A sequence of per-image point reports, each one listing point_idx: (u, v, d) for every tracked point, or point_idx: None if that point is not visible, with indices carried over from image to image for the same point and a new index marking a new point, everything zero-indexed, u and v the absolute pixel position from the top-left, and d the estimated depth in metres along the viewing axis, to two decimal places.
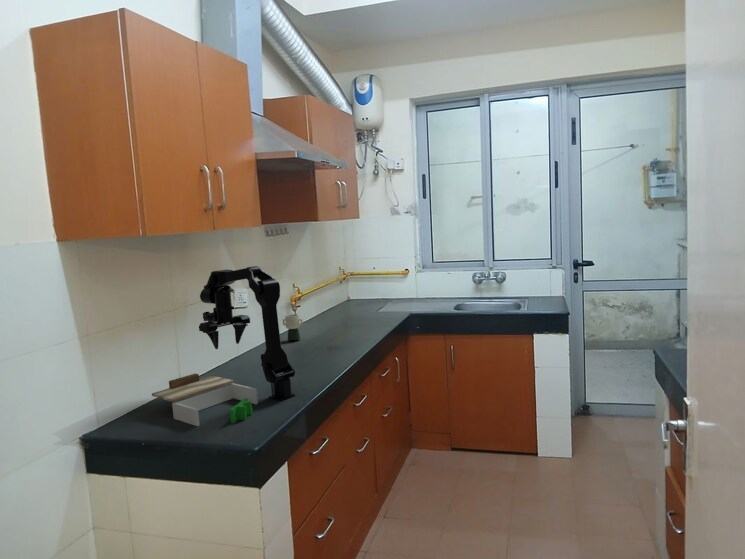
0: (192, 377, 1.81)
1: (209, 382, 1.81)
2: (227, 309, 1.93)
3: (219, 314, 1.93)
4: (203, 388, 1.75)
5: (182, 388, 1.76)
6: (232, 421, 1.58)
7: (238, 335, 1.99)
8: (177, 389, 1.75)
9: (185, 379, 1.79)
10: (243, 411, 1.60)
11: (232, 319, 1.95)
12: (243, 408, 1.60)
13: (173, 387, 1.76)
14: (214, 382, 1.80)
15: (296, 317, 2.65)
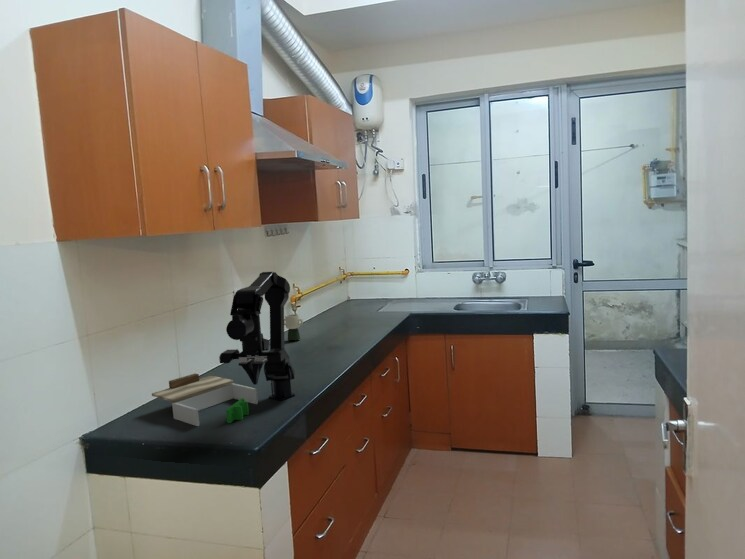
0: (192, 377, 1.81)
1: (209, 382, 1.81)
2: (246, 339, 1.53)
3: None
4: (203, 388, 1.75)
5: (182, 388, 1.76)
6: (228, 421, 1.58)
7: None
8: (177, 389, 1.75)
9: (185, 379, 1.79)
10: (239, 411, 1.60)
11: (253, 353, 1.53)
12: (239, 408, 1.60)
13: (173, 387, 1.76)
14: (214, 382, 1.80)
15: (296, 317, 2.65)
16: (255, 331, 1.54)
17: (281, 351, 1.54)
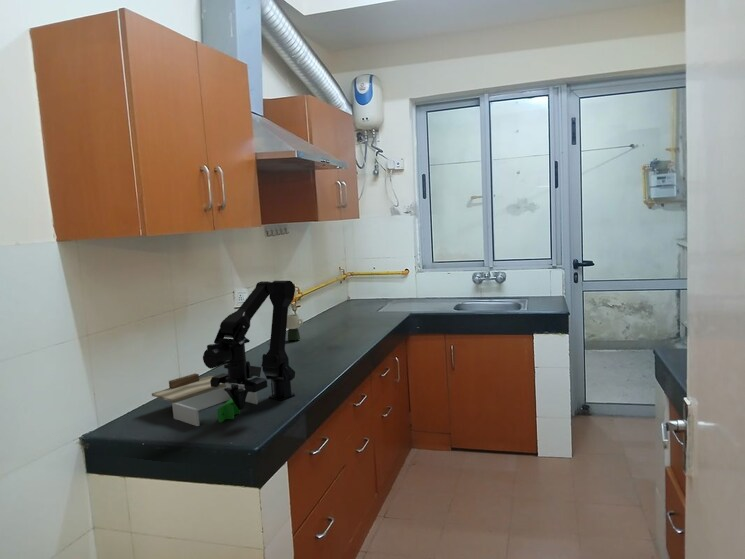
0: (192, 377, 1.81)
1: (209, 382, 1.81)
2: (228, 367, 1.60)
3: None
4: (203, 388, 1.75)
5: (182, 388, 1.76)
6: (220, 420, 1.60)
7: None
8: (177, 389, 1.75)
9: (185, 379, 1.79)
10: (231, 410, 1.62)
11: (234, 381, 1.59)
12: (231, 407, 1.62)
13: (173, 387, 1.76)
14: None
15: (296, 317, 2.65)
16: (236, 360, 1.59)
17: (258, 381, 1.57)
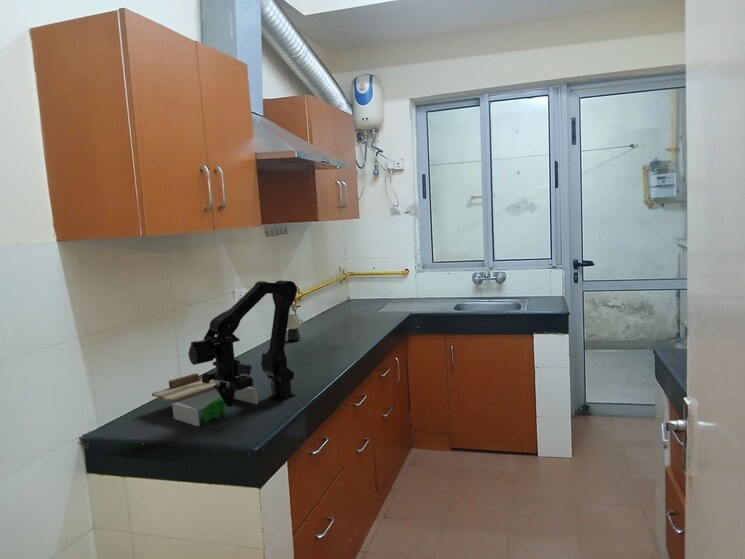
0: (192, 377, 1.81)
1: (209, 382, 1.81)
2: (216, 364, 1.64)
3: None
4: (203, 388, 1.75)
5: (182, 388, 1.76)
6: (205, 419, 1.61)
7: None
8: (177, 389, 1.75)
9: (185, 379, 1.79)
10: (216, 409, 1.63)
11: (221, 378, 1.63)
12: (216, 406, 1.63)
13: (173, 387, 1.76)
14: (214, 382, 1.80)
15: (296, 317, 2.65)
16: (222, 358, 1.63)
17: (243, 380, 1.60)
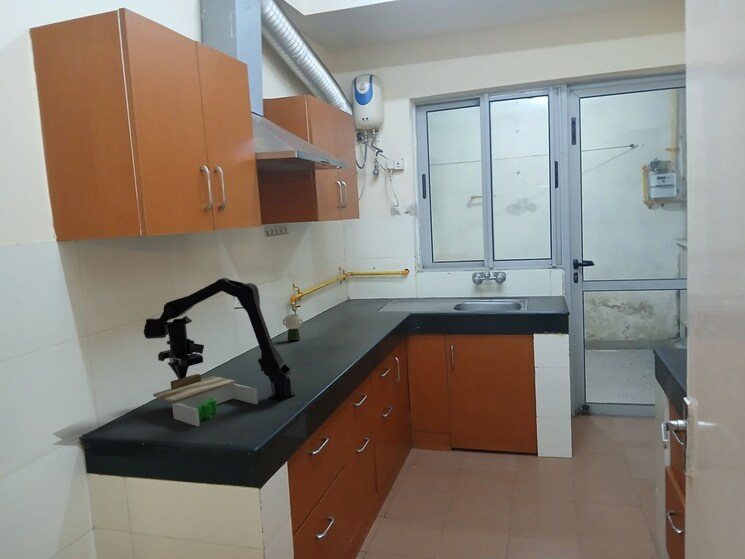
0: (194, 377, 1.81)
1: (211, 382, 1.80)
2: (169, 343, 1.78)
3: None
4: (205, 388, 1.74)
5: (183, 388, 1.75)
6: None
7: None
8: (179, 389, 1.74)
9: (187, 379, 1.79)
10: (208, 410, 1.63)
11: (174, 355, 1.77)
12: (208, 407, 1.63)
13: (175, 387, 1.75)
14: (216, 382, 1.80)
15: (296, 317, 2.65)
16: (169, 337, 1.77)
17: (193, 357, 1.74)
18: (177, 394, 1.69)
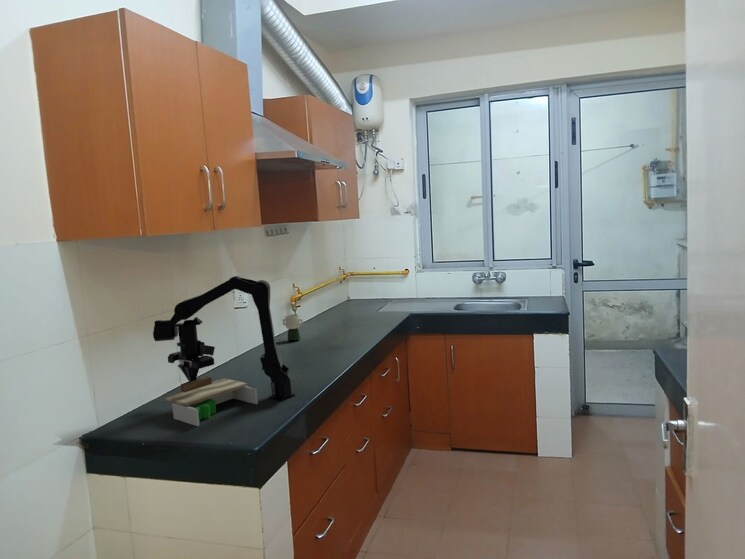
0: (204, 380, 1.77)
1: (222, 385, 1.76)
2: (180, 345, 1.74)
3: None
4: (217, 391, 1.70)
5: (194, 391, 1.72)
6: None
7: None
8: (189, 392, 1.70)
9: (197, 382, 1.75)
10: (207, 410, 1.63)
11: (184, 357, 1.73)
12: (207, 407, 1.63)
13: (185, 390, 1.72)
14: (227, 385, 1.76)
15: (296, 317, 2.65)
16: (180, 338, 1.73)
17: (204, 359, 1.70)
18: (188, 397, 1.66)
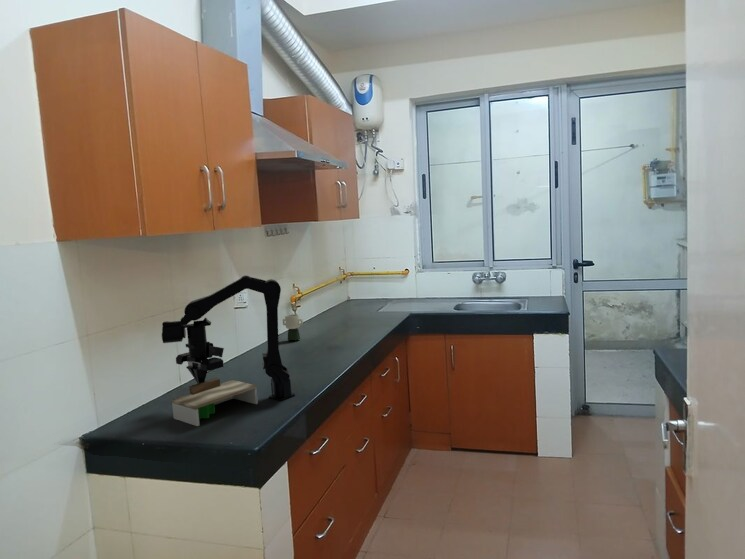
0: (213, 382, 1.74)
1: (231, 387, 1.73)
2: (188, 346, 1.71)
3: None
4: (226, 393, 1.67)
5: (203, 393, 1.68)
6: None
7: None
8: (198, 395, 1.67)
9: (206, 384, 1.72)
10: (206, 410, 1.64)
11: (193, 359, 1.70)
12: (206, 407, 1.63)
13: (194, 393, 1.68)
14: (236, 387, 1.73)
15: (296, 317, 2.65)
16: (190, 340, 1.70)
17: (213, 361, 1.67)
18: (197, 400, 1.62)
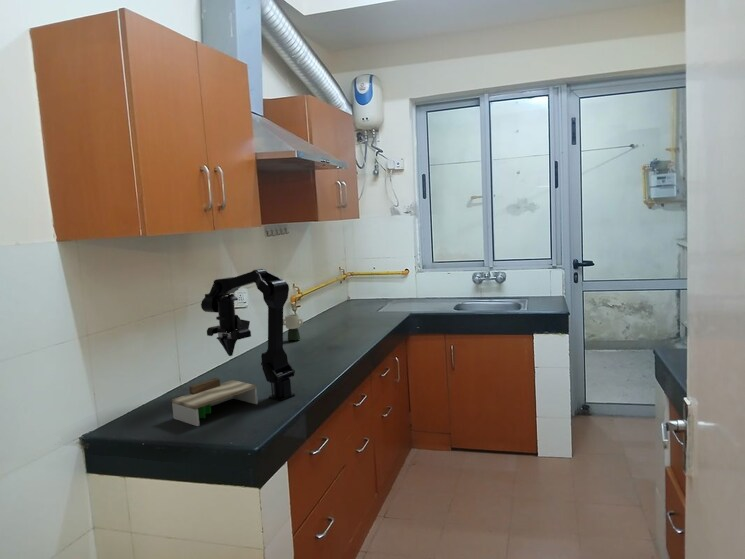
0: (213, 382, 1.74)
1: (231, 387, 1.73)
2: (219, 318, 1.89)
3: None
4: (226, 393, 1.67)
5: (203, 393, 1.69)
6: None
7: None
8: (198, 395, 1.67)
9: (206, 384, 1.72)
10: (202, 410, 1.64)
11: (223, 330, 1.88)
12: (202, 407, 1.64)
13: (194, 393, 1.69)
14: (236, 387, 1.73)
15: (296, 317, 2.65)
16: (218, 312, 1.90)
17: (242, 331, 1.85)
18: (197, 400, 1.63)
